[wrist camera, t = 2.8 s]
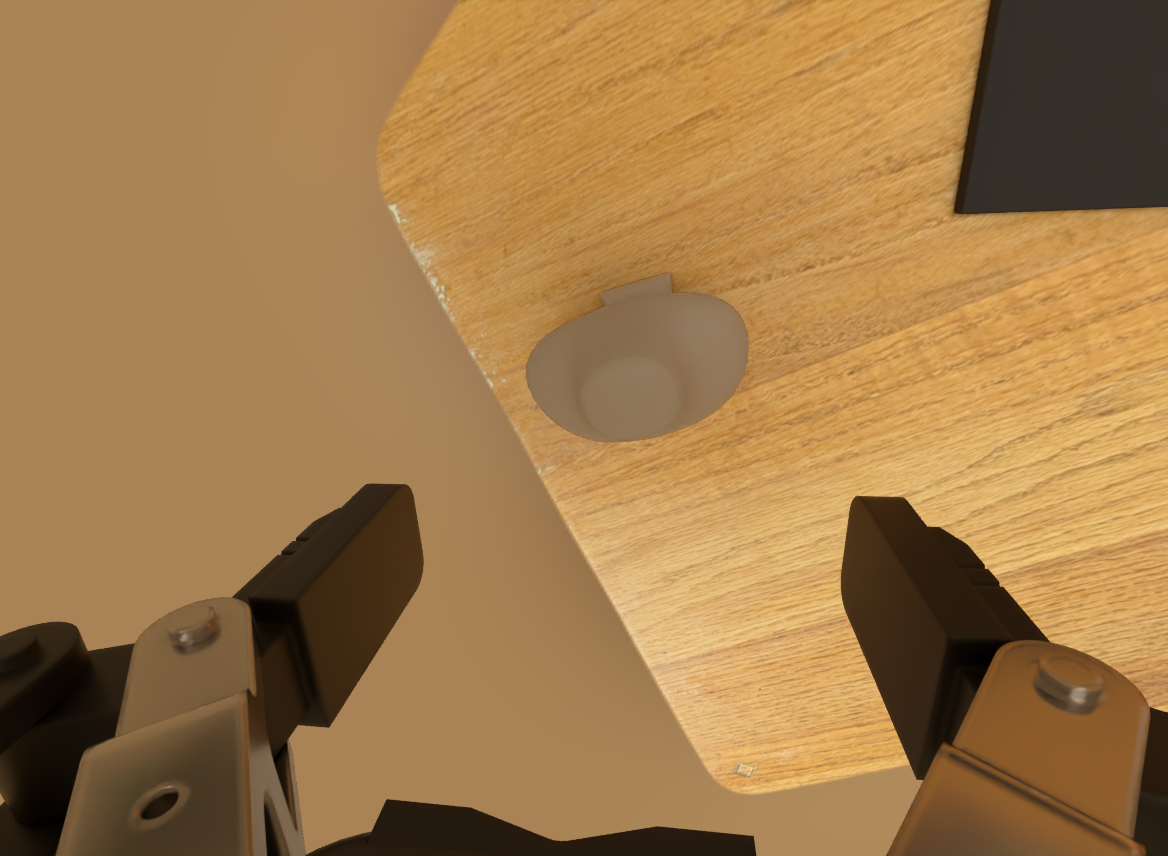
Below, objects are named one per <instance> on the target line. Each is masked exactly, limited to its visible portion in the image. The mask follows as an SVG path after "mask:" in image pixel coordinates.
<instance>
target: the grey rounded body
mask: <svg viewBox="0 0 1168 856" xmlns="http://www.w3.org/2000/svg"><path fill="white" fill-rule="evenodd" d="M599 295H600V298H601V300H602V302H603V304H604V306H605V307H602V308H599V309H597V310H594V311H592V312H589V313H587V314H584V315H582V316H580V317H578V318H575V319H573V320H571V321H569V322H567V323H565V324H564V325H562V326H560V327H558V328H557V329H555V330H553V331H552V332H551V333H549V334H548V335H546V336H545V337H544V338H543V339H542V340H541V341H539V342H538V343H537V345H536V346H535V348H534V349H533V350H532V352H531V354H530V356H529V359H528V361H527V364H526V379H527V383H528V387H529V389H530V391H531V394H532V396H533V398H534V399H535V401H536V402H537V404H538V405H539V406H540V408H541V409H542V410H543V411H544V412H545V414H546V415H547V416H548V417H549V418H550V419H552V420H553V421H554V422H555V423H556V424H558V425H559V426H560V427H562V428H563V429H565V430H567V431H569V432H571V433H573V434H575V435H577V436H580V437H583V438H586V439H590V440H593V441H600V442H629V441H637V440H644V439H650V438H655V437H659V436H662V435H666V434H669V433H672V432H675V431H678V430H681V429H684V428H686V427H688V426H691V425H693V424H695V423H697V422H699V421H701V420H703V419H705V418H706V417H708V416H710V415H711V414H713V413H714V412H715V411H717V410H718V409H719V408H720V407H722V406H723V405H724V404H725V403H726V402H727V401H728V400H729V398H730V397H731V396H732V395H733V394H734V392H735V391H736V389H737V387H738V386H739V384H740V382H741V380H742V378H743V375H744V372H745V369H746V365H747V360H748V352H749V340H748V333H747V329H746V326H745V323H744V321H743V319H742V318H741V316H740V314H739V313H738V312H737V311H736V310H735V309H734V308H733V307H732V306H731V305H729V304H728V303H726V302H725V301H723V300H721V299H718V298H716V297H713V296H711V295H705V294H700V293H673V289H672V275H671V273H664V274H661V275H657V276H654V277H650V278H647V279H643V280H640V281H636V282H633V283H629V284H626V285H623V286H619V287H616V288H612V289H609V290H606V291H602V292H601V293H600V294H599Z"/></svg>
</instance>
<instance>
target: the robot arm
mask: <svg viewBox="0 0 1168 856" xmlns="http://www.w3.org/2000/svg"><path fill="white" fill-rule="evenodd" d="M423 562H424V560H423V551H422V544H421V538H420V532H419V526H418V520H417V514H416V508H415V502H414V496H413V493H412V491H411V488H410V487H409V486H408V485H405V484H366V485H365V486H363V488H361V489H360V490H359V491H358V492H357V493H356V494H355V495H354V496H353V497H352V498H351V499H350V500H349V501H348V502H347V503H346V504H345V505H344V506H343V507H342V508H338V509H336V510H334V511H332V512H331V513H329V514H327V515H325V516H323V517H322V518H319V519H318V520H316V521H314V522H313V523H312V524H311V525H310V526H308V527H307V528H306V529H305V530H304V531H303V532H302V533H301V534H300V535H299V536H298V537H297V538H296V541H292V542H291V543H290V544H289V545H288V546H287V547H286V548H285V549H284V550H283V551H282V554H281V555H277V556H276V557H275V558H274V559H273V560H272V561H271V562H270V563H269V564H267V565H266V566H265V567H264V568H263V569H262V570H261V571H260V572H259V573H258V574H257V575H256V576H254V577H253V578H252V579H251V580H250V581H249V582H248V583H247V584H246V585H245V586H244V587H243V588H241V590H239V591H238V592H237V593H236V594H235V595H234V596H233V597H232V598H227V597H221V598H212V599H206V600H202V601H198V602H195V603H192V604H189V605H186V606H183V607H181V608H179V609H176V610H174V611H173V612H171V613H168V614H167V615H165V616H163V617H162V618H160V619H158V620H157V621H156V622H154V623H153V624H151V625H150V626H149V627H148V628H147V629H146V630H145V631H144V632H143V633H142V634H141V635H140V636H139V638H138V639H137V641H136V642H135V643H134V644H128V645H122V646H116V647H110V648H104V649H98V650H92V651H87V648H86V646H85V644H84V641H83V639H82V637H81V635H80V633H79V630H78V628H77V627H76V626H75V625H73V624H71V623H66V622H48V623H41V624H37V625H32V626H28V627H25V628H22V629H18V630H16V631H13V632H10V633H7V634H5V635H3V636H0V793H1V795H2V797H3V799H4V800H5V802H4V803H3V804H2V805H1V806H0V856H756V851H755V843H754V837H753V836H746V835H737V834H727V833H718V832H708V831H697V830H688V829H678V828H668V827H658V826H657V827H651V828H645V829H639V830H632V831H626V832H620V833H614V834H607V835H601V836H595V837H589V838H583V839H576V840H570V841H555V840H551V839H548V838H545V837H543V836H540V835H538V834H536V833H533V832H531V831H528V830H526V829H523V828H521V827H518V826H516V825H513V824H510V823H508V822H506V821H503V820H501V819H498V818H495V817H493V816H490V815H488V814H485V813H483V812H480V811H478V810H475V809H473V808H468V807H459V806H449V805H438V804H429V803H418V802H409V801H399V800H389V799H387V800H386V802H385V804H384V806H383V808H382V810H381V813H380V815H379V817H378V819H377V821H376V823H375V825H374V828H373V830H372V832H368V833H362V834H359V835H355V836H352V837H348V838H345V839H342V840H339V841H336V842H334V843H332V844H329V845H326V846H324V847H321V848H319V849H317V850H315V851H313V852H311V853H309V854H307V855H306V852H305V844H304V837H303V830H302V823H301V822H302V821H301V813H300V806H299V798H298V790H297V782H296V775H295V766H294V759H293V752H292V748H291V745H290V742H289V737H290V736H291V734H292V733H293V731H294V730H295V728H296V727H297V726H298V725H305V726H316V727H328V728H329V727H330V725H331V724H332V722H333V721H334V719H335V718H336V716H337V714H338V713H339V711H340V710H341V708H342V707H343V705H344V703H345V702H346V700H347V699H348V697H349V696H350V694H351V692H352V691H353V689H354V687H355V686H356V685H357V683H358V681H359V680H360V678H361V677H362V675H363V673H364V672H365V670H366V669H367V667H368V666H369V664H370V662H371V661H372V659H373V658H374V656H375V654H376V653H377V651H378V650H379V648H380V647H381V645H382V644H383V642H384V640H385V639H386V637H387V635H388V634H389V632H390V631H391V629H392V628H393V626H394V625H395V623H396V621H397V620H398V618H399V617H400V615H401V614H402V612H403V610H404V609H405V607H406V606H407V604H408V603H409V601H410V599H411V598H412V596H413V595H414V593H415V592H416V590H417V588H418V586H419V584H420V581H421V577H422V573H423ZM841 593H842V600H843V605H844V608H845V611H846V614H847V616H848V618H849V621H850V623H851V625H852V628H853V630H854V632H855V635H856V637H857V640H858V642H859V644H860V647H861V649H862V651H863V654H864V656H865V659H866V661H867V663H868V666H869V668H870V670H871V673H872V675H873V677H874V680H875V682H876V685H877V687H878V689H879V692H880V694H881V696H882V699H883V701H884V703H885V706H886V708H887V711H888V713H889V715H890V718H891V720H892V722H893V725H894V727H895V729H896V732H897V734H898V737H899V739H900V741H901V744H902V746H903V748H904V751H905V753H906V755H907V758H908V760H909V763H910V765H911V767H912V770H913V772H914V774H915V777H916V779H918V780H923V782H922V784H921V786H920V788H919V790H918V792H917V794H916V796H915V799H914V801H913V803H912V804H911V807H910V809H909V811H908V813H907V815H906V817H905V819H904V821H903V823H902V825H901V827H900V829H899V831H898V833H897V835H896V837H895V839H894V841H893V843H892V845H891V847H890V849H889V851H888V853H887V855H886V856H1168V713H1167V712H1164V711H1160V710H1157V709H1154V708H1150V707H1149V705H1148V703H1147V701H1146V699H1145V698H1144V696H1143V694H1142V693H1141V692H1140V691H1139V690H1138V688H1137V687H1136V686H1135V685H1134V684H1133V683H1132V682H1131V681H1129V680H1128V679H1127V678H1126V677H1125V676H1123V675H1122V674H1121V673H1119V672H1118V671H1117V670H1115V669H1114V668H1112V667H1110V666H1109V665H1107V664H1105V663H1104V662H1102V661H1100V660H1098V659H1096V658H1094V657H1092V656H1090V655H1088V654H1085V653H1083V652H1080V651H1078V650H1075V649H1072V648H1069V647H1066V646H1063V645H1059V644H1055V643H1051V642H1050V641H1049V640H1048V639H1047V638H1046V637H1045V635H1044V634H1043V633H1042V632H1041V631H1040V629H1039V628H1038V627H1037V626H1036V625H1035V624H1034V622H1033V621H1032V620H1031V619H1030V618H1029V617H1028V615H1027V614H1026V613H1025V612H1024V611H1023V609H1022V608H1021V607H1020V606H1019V605H1018V604H1017V602H1016V601H1015V600H1014V599H1013V598H1012V597H1011V595H1010V594H1009V593H1008V592H1007V591H1006V589H1005V588H1004V587H1000V585H999V581H998V580H997V579H996V578H995V576H994V575H993V574H992V573H991V572H990V571H989V569H985V565H984V564H983V562H982V561H981V560H980V559H979V558H978V556H977V555H976V554H975V553H974V552H973V551H972V549H971V548H970V547H969V546H968V545H967V544H966V543H964V542H962V541H961V540H959V539H958V538H956V537H954V536H953V535H951V534H950V533H948V532H946V531H945V530H943V529H942V528H940V527H927V526H926V524H925V523H924V522H923V521H922V519H921V518H920V517H919V515H918V514H917V513H916V511H915V510H914V509H913V508H912V506H911V505H910V504H909V502H908V501H907V500H906V499H905V498H903V497H876V496H856V497H855V498H854V499H853V501H852V503H851V507H850V512H849V519H848V527H847V534H846V541H845V549H844V556H843V563H842V571H841Z"/></svg>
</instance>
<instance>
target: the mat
mask: <svg viewBox="0 0 1168 856" xmlns="http://www.w3.org/2000/svg"><path fill="white" fill-rule="evenodd" d="M1144 207H1168V0H992V1H991V7H990V13H989V18H988V24H987V30H986V36H985V41H984V47H983V53H982V58H981V64H980V70H979V75H978V81H977V87H976V92H975V98H974V104H973V109H972V115H971V121H970V127H969V132H968V138H967V144H966V149H965V155H964V161H963V166H962V172H961V178H960V183H959V189H958V195H957V200H956V206H955V213H957V214H978V213H1006V212H1033V211H1061V210H1089V209H1116V208H1144Z"/></svg>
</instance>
